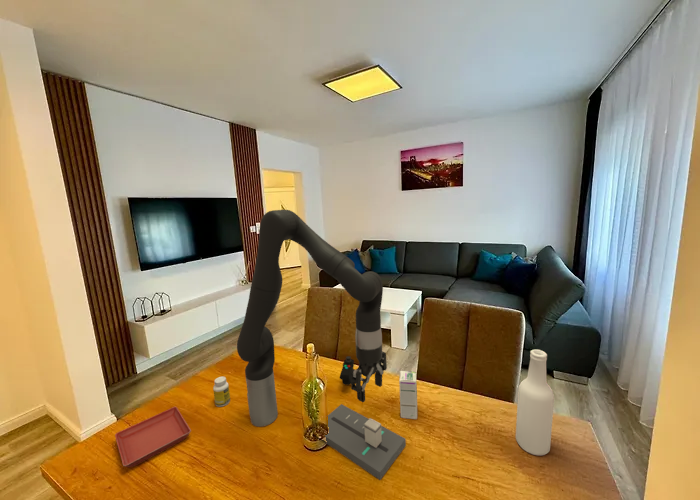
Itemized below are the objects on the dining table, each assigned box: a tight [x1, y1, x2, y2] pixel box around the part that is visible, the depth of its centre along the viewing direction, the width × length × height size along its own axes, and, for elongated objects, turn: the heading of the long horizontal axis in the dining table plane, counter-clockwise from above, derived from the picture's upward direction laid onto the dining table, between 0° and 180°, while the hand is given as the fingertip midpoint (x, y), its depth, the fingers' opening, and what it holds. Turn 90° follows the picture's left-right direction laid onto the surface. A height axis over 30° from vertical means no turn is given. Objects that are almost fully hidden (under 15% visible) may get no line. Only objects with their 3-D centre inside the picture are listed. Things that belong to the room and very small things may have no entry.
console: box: [325, 403, 407, 481], centre depth 93 cm, size 26×14×3 cm, turn 50°
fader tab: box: [364, 417, 382, 448], centre depth 88 cm, size 4×3×6 cm
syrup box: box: [398, 370, 418, 420], centre depth 103 cm, size 6×6×14 cm
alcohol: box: [515, 348, 555, 457], centre depth 86 cm, size 9×9×30 cm
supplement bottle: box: [212, 376, 231, 408], centre depth 113 cm, size 5×5×10 cm
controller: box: [339, 355, 355, 386], centre depth 121 cm, size 4×12×10 cm, turn 169°
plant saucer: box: [114, 406, 192, 468], centre depth 97 cm, size 18×18×3 cm
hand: (370, 392), depth 87 cm, fingers open, 8 cm apart
